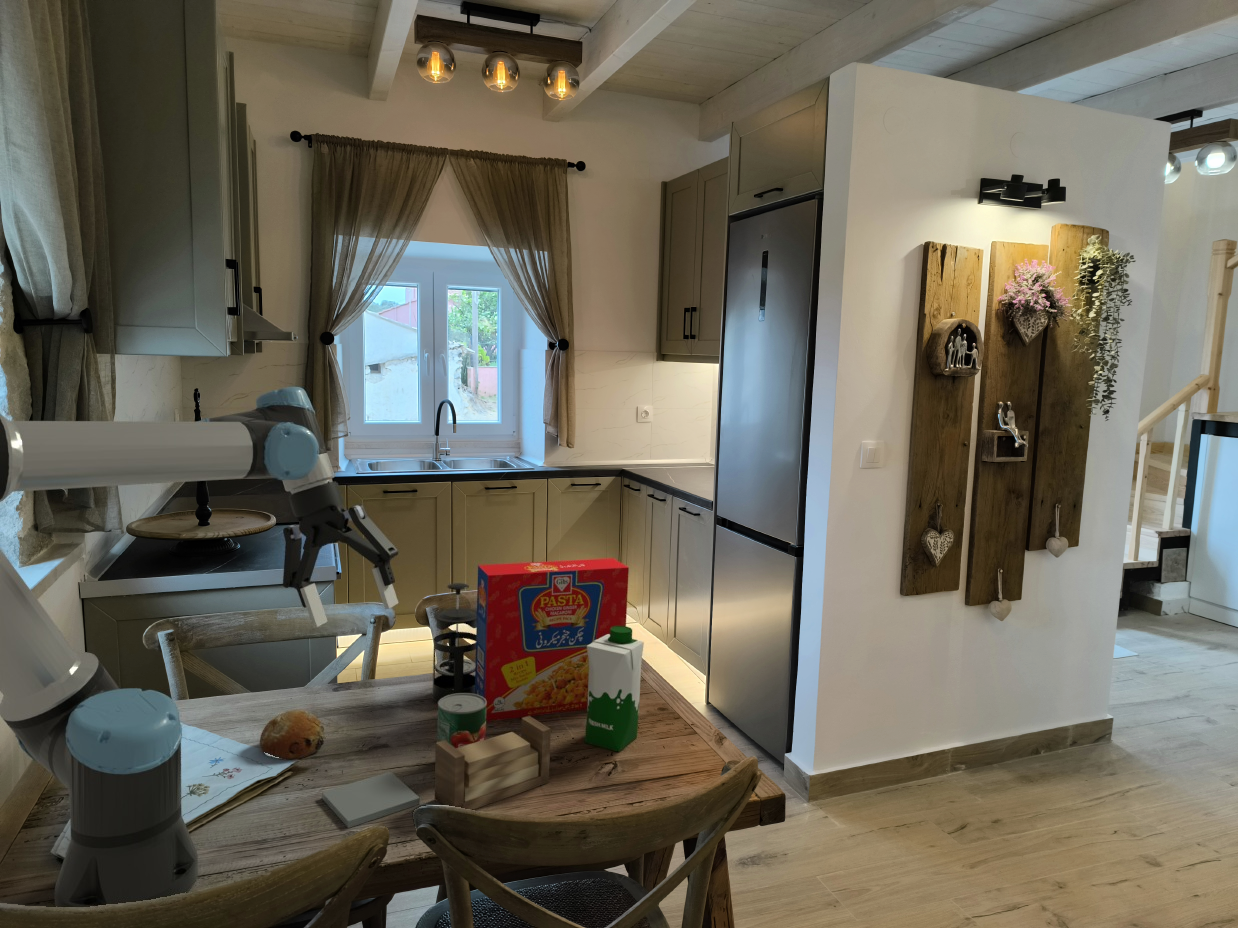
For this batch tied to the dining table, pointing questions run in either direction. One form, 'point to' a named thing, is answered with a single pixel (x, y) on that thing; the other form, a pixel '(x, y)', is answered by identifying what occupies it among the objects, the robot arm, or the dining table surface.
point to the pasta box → (543, 632)
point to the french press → (454, 651)
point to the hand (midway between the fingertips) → (355, 615)
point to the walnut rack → (452, 791)
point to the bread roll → (292, 735)
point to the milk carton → (613, 689)
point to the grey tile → (370, 799)
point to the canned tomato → (462, 719)
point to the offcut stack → (497, 764)
